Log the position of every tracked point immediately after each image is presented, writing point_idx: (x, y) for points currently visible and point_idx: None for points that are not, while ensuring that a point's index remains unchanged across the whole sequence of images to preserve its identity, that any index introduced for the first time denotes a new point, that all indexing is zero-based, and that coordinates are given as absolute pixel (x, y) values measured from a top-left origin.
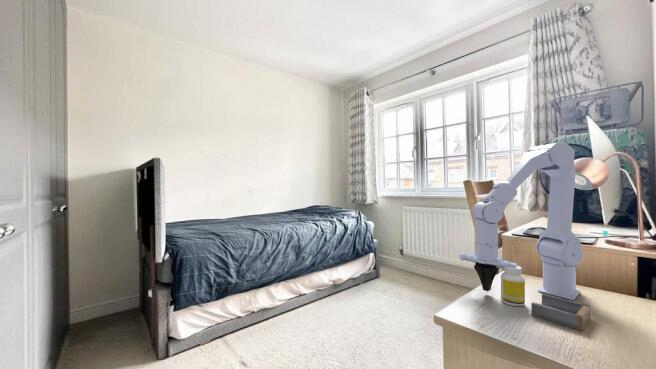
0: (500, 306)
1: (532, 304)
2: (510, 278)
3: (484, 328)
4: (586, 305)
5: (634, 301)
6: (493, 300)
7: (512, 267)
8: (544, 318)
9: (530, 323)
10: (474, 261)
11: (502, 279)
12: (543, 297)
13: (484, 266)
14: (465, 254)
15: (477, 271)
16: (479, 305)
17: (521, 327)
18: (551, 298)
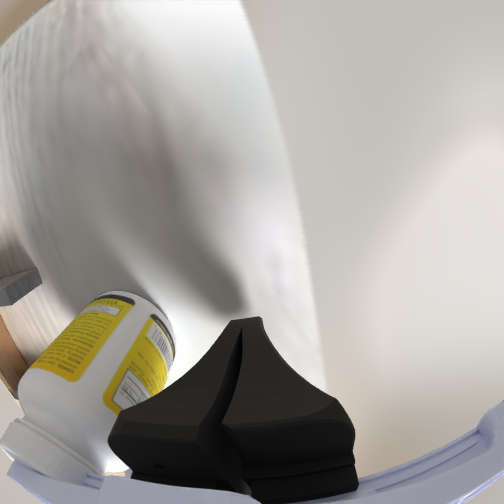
0: (115, 237)
1: (6, 287)
2: (25, 381)
3: (62, 11)
4: (13, 394)
5: None
6: (179, 278)
7: (20, 462)
8: (14, 274)
9: (8, 198)
10: (381, 481)
11: (84, 382)
12: None
13: (242, 474)
14: (492, 479)
15: (296, 388)
16: (167, 135)
17: (7, 138)
18: None
